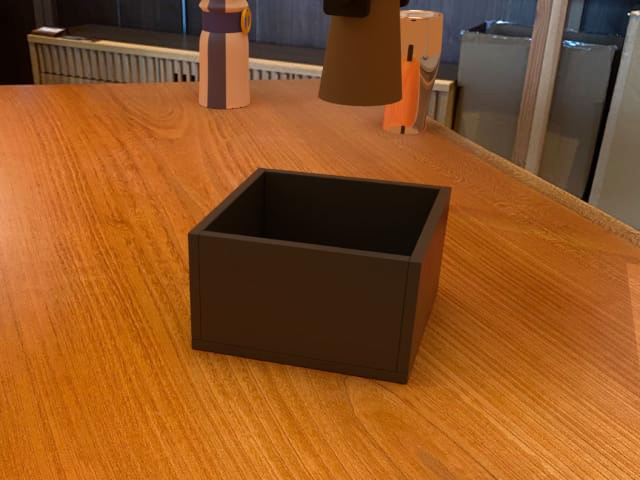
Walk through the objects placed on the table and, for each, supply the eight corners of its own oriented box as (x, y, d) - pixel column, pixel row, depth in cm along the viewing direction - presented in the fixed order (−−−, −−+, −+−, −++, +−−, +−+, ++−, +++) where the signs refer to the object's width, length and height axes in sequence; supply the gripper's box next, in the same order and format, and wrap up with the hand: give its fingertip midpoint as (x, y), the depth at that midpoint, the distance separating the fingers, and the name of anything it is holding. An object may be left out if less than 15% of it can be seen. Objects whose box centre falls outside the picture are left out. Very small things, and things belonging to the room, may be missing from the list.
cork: (311, 103, 58) (318, -78, 53) (324, 85, 63) (333, -83, 57) (398, 108, 57) (416, -77, 51) (405, 89, 62) (422, -82, 56)
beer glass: (437, 138, 109) (453, 12, 101) (418, 151, 104) (433, 19, 96) (387, 131, 112) (398, 8, 104) (366, 143, 107) (376, 15, 99)
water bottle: (260, 98, 128) (262, -92, 115) (243, 111, 121) (244, -90, 108) (209, 94, 130) (206, -93, 117) (190, 106, 123) (184, -90, 110)
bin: (437, 291, 69) (452, 186, 64) (406, 384, 56) (421, 262, 52) (257, 267, 73) (258, 167, 69) (191, 348, 61) (187, 232, 56)
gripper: (386, -381, 40) (357, 32, 49) (507, -323, 52) (466, 1, 61) (253, -360, 43) (251, 22, 53) (396, -310, 55) (373, -6, 65)
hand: (367, 7), depth 57 cm, fingers closed on cork, 5 cm apart
